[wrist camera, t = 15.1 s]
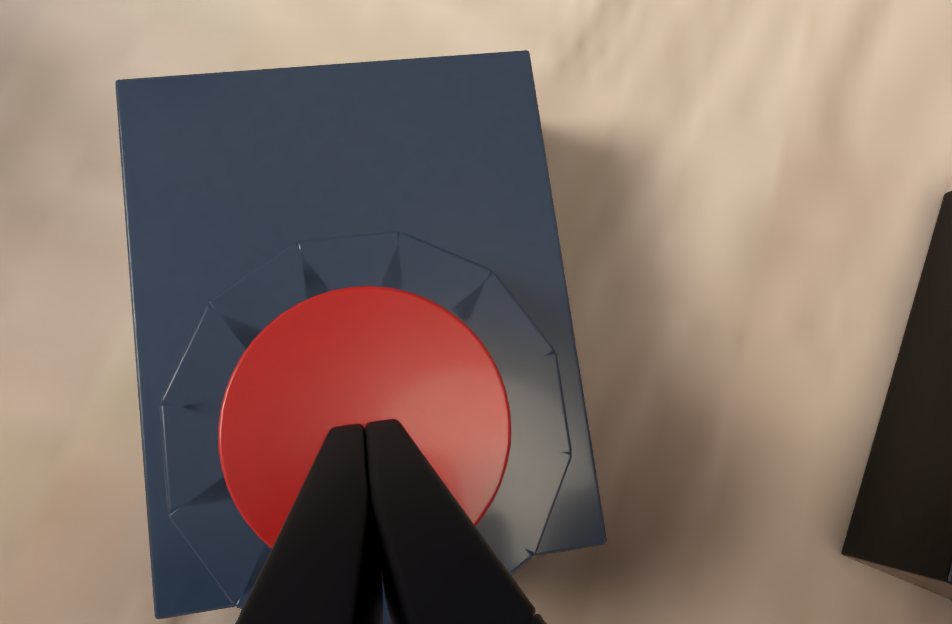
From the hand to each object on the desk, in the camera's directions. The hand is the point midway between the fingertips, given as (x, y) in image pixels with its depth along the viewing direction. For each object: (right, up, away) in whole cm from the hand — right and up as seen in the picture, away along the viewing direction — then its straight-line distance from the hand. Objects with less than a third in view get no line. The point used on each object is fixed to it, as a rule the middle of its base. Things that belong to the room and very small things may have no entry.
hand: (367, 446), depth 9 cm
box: (-2, +1, +10) cm, 10 cm away
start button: (-1, -1, +5) cm, 5 cm away
